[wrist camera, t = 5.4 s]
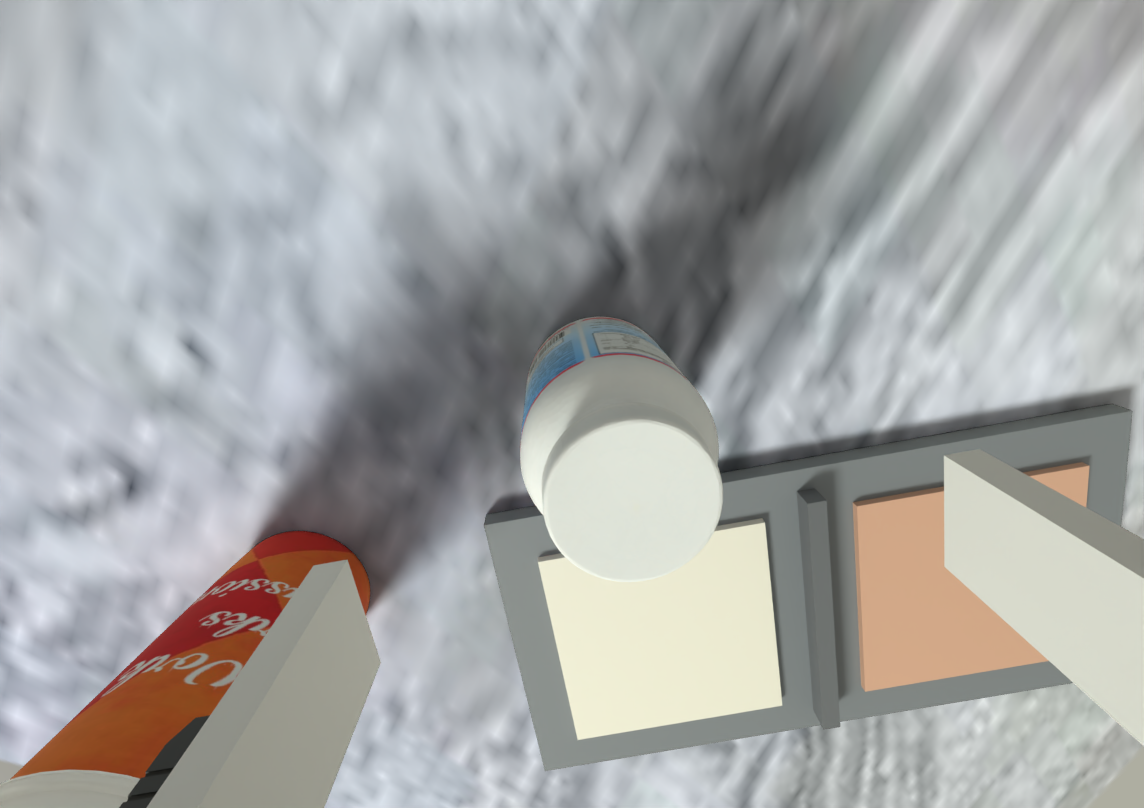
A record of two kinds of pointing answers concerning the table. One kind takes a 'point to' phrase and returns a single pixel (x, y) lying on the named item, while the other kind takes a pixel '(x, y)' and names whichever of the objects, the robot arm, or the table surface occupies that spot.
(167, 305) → the table surface
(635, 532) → the pill bottle
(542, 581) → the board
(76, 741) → the coffee cup
